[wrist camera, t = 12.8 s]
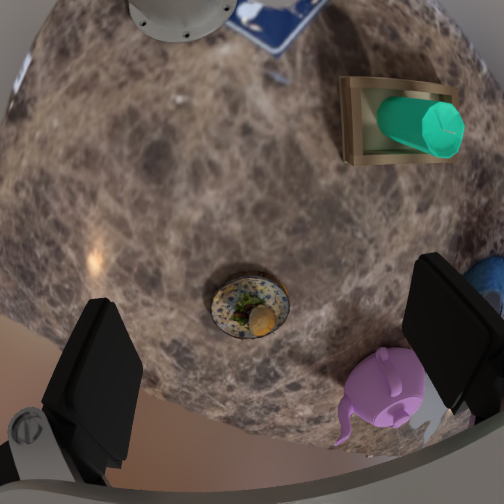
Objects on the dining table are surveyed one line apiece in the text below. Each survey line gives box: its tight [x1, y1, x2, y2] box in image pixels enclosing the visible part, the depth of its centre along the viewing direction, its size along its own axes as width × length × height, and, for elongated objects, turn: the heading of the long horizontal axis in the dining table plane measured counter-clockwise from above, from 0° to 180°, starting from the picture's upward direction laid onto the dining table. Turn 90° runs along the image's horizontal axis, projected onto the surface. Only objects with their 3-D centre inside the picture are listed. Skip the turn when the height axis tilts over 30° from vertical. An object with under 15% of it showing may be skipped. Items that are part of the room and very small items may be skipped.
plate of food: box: [210, 271, 290, 340], centre depth 44 cm, size 12×12×8 cm
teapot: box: [334, 347, 425, 446], centre depth 52 cm, size 22×22×14 cm
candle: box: [377, 96, 465, 158], centre depth 29 cm, size 6×6×12 cm
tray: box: [338, 76, 459, 166], centre depth 33 cm, size 16×11×4 cm
